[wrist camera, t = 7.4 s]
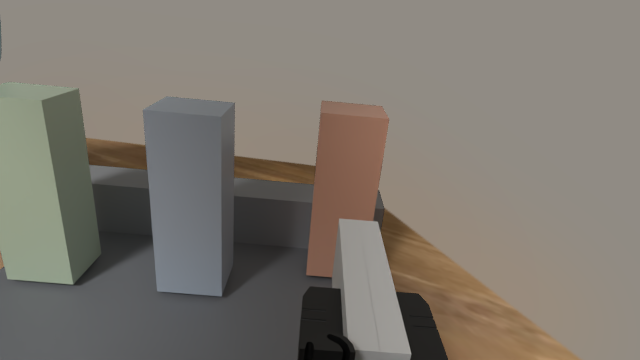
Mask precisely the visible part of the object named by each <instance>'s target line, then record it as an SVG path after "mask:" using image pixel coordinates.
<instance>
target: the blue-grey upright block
mask: <svg viewBox="0 0 640 360" xmlns="http://www.w3.org/2000/svg"><path fill="white" fill-rule="evenodd" d="M143 118H144V131H145V143H146V156H147V169H148V182H149V195H150V208H151V220H152V233H153V246H154V259H155V271H156V284H157V291H159V292H172V293H184V294H197V295H209V296H221V297H222V294H223V292H224V289H225V286H226V283H227V280H228V278H229V275H230V272H231V269H232V267H233V232H234V126H235V125H234V122H235V103H232V102H220V101H210V100H199V99H189V98H178V97H165V98H163V99H161V100H160V101H158V102H156V103H154V104H152V105H150V106H149V107H147V108H145V109H143Z"/></svg>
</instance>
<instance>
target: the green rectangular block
mask: <svg viewBox="0 0 640 360" xmlns="http://www.w3.org/2000/svg"><path fill="white" fill-rule="evenodd" d="M0 251H1V255H2V259H3V263H4V267H5V271H6V275H7V279H11V280H23V281H36V282H48V283H61V284H74V283H75V282H76V281H77V280H78V279H79V278H80V277H81V276H82V274H83V273H84V272H85V271H86V270H87V269H88V268H89V267H90V266H91V265H92V264H93V262H94V261H95V260H96V259H97V258H98V257H99V256H100V255H101V248H100V240H99V233H98V226H97V218H96V211H95V204H94V196H93V189H92V182H91V174H90V167H89V160H88V153H87V145H86V138H85V131H84V123H83V116H82V109H81V101H80V94H79V89H78V88H69V87H58V86H47V85H36V84H25V83H15V82H8V83H3V84H0Z"/></svg>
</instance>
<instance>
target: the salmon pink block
mask: <svg viewBox="0 0 640 360" xmlns="http://www.w3.org/2000/svg"><path fill="white" fill-rule="evenodd" d="M388 123H389V118H388V116H387V114H386V113H385V111H384V109H383V107H382V106H375V105H363V104H353V103H342V102H332V101H322V103H321V114H320V125H319V136H318V147H317V157H316V168H315V179H314V190H313V201H312V211H311V222H310V233H309V244H308V257H307V270H306V275H310V276H322V277H332V273H333V265H334V257H335V248H336V240H337V232H338V223H339V218H340V219H352V220H364V221H373V218H374V212H375V206H376V199H377V193H378V187H379V180H380V174H381V168H382V161H383V155H384V148H385V143H386V136H387V130H388Z"/></svg>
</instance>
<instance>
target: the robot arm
mask: <svg viewBox="0 0 640 360" xmlns="http://www.w3.org/2000/svg"><path fill="white" fill-rule="evenodd" d="M0 59H1V22H0ZM436 328H437V327H436V324H435V321H434V320H433V316H432V313H431V310H430V307H429V305H428V304H427V303H426V301H425V300H424V299H423V298H422V297H421V296H420V295H419V294H416V293H403V292H396V291H395V287H394V283H393V280H392V276H391V272H390V268H389V264H388V260H387V256H386V252H385V248H384V244H383V240H382V236H381V232H380V228H379V225H378V222H376V221H364V220H352V219H340V218H339V223H338V232H337V240H336V248H335V257H334V265H333V273H332V288H326V287H313V286H310V287H309V288H308V290H307V291H306V292H305V294H304V295H303V298H302V309H301V320H300V332H299V345H298V358H297V360H448V358H447V355H446V352H445V350H444V347H443V344H442V341H441V338H440V335H439V333H438V330H437V329H436Z"/></svg>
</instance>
